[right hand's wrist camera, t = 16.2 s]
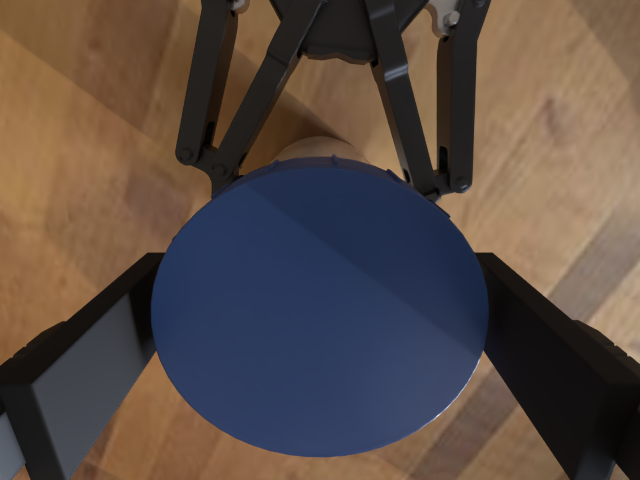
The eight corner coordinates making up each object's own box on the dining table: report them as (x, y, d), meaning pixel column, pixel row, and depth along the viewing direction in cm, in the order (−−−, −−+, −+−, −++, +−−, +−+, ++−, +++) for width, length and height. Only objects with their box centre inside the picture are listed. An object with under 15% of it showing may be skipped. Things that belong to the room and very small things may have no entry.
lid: (350, 444, 15) (355, 498, 13) (128, 327, 13) (92, 369, 11) (523, 267, 12) (565, 300, 10) (274, 84, 10) (263, 78, 8)
